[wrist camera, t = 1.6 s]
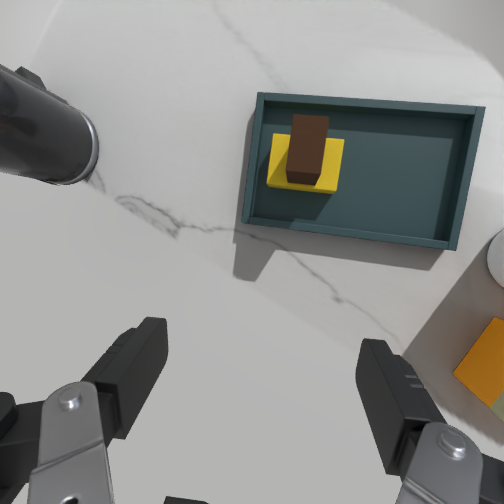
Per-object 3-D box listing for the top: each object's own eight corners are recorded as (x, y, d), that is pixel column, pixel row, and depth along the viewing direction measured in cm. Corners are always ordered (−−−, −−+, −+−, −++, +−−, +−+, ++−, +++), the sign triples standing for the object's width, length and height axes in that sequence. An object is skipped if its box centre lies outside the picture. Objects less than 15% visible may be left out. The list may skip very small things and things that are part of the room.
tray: (244, 223, 32) (241, 222, 30) (259, 100, 31) (257, 91, 29) (445, 249, 29) (456, 250, 28) (472, 115, 28) (486, 106, 26)
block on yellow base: (268, 187, 31) (259, 171, 23) (274, 140, 31) (267, 107, 22) (333, 194, 30) (347, 181, 22) (340, 146, 30) (358, 114, 21)
